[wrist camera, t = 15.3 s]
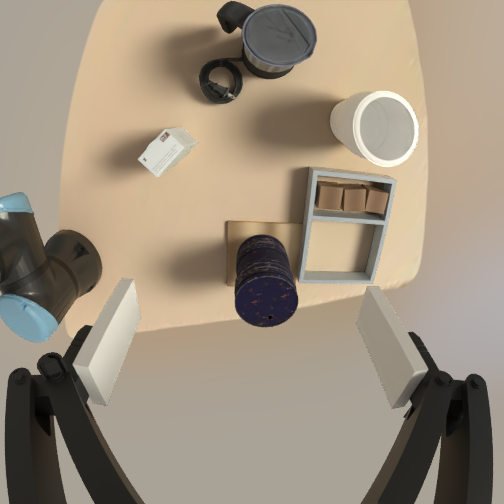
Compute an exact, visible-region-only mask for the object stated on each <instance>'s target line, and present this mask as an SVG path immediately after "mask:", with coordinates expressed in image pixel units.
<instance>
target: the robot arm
mask: <svg viewBox="0 0 504 504" xmlns="http://www.w3.org/2000/svg"><path fill="white" fill-rule="evenodd" d="M101 274H102V263H101V259H100V256H99V254H98V252H97V250H96V248H95V247H94V245H93V244H92V243H91V242H90V241H89V240H88V239H87V238H86V237H85V236H83V235H82V234H80V233H78V232H75V231H72V230H62V231H59V232H57V233H56V234H54V235H53V236H52V237H51V238H50V239H49V240H48V242H47V243H46V245H45V247H44V245H43V242H42V239H41V236H40V233H39V230H38V227H37V224H36V221H35V218H34V212H33V211H32V209H31V206H30V203H29V200H28V197H27V196H26V195H25V194H24V193H21V192H19V193H14V194H11V195H8V196H5V197H2V198H0V291H1V293H2V295H1V296H0V316H1V318H2V319H3V321H4V322H5V323H6V325H7V326H8V327H9V328H10V329H11V330H12V331H13V332H14V333H16V334H17V335H19V336H20V337H22V338H24V339H26V340H28V341H31V342H36V343H40V342H44V341H46V340H48V339H49V337H50V336H51V335H52V334H53V332H54V331H56V330H57V328H58V325H59V324H60V322H61V321H62V319H63V318H64V316H65V315H66V313H67V312H68V310H69V309H70V307H71V306H72V304H73V303H74V302H75V300H76V299H77V298H79V297H81V296H83V295H84V294H86V293H88V292H90V291H91V290H92V289H93V288H94V287H95V286H96V284H97V283H98V282H99V280H100V278H101ZM140 319H141V315H140V310H139V305H138V300H137V294H136V289H135V283H134V279H123V278H121V280H120V282H119V283H118V285H117V286H116V288H115V290H114V291H113V293H112V295H111V296H110V298H109V300H108V301H107V303H106V305H105V306H104V308H103V310H102V311H101V313H100V315H99V317H98V318H97V320H96V322H95V324H94V325H93V326H89V325H85V326H84V327H82V328H81V329H80V330H79V331H78V332H77V334H76V336H75V337H74V340H73V341H72V343H71V346H69V348H68V350H67V352H66V353H65V355H64V357H63V358H62V356H61V355H59V354H58V353H54V352H51V353H47V354H45V355H43V356H42V357H41V358H40V359H39V361H38V363H37V369H38V370H39V372H40V374H41V375H31V373H30V372H29V370H28V369H26V368H18V369H15V370H14V371H13V372H12V373H11V374H10V376H9V379H8V388H7V399H6V414H5V462H6V463H5V464H6V478H7V488H8V496H9V504H67V503H66V499H65V494H64V489H63V484H62V479H61V474H60V468H59V462H58V455H57V447H56V439H55V428H54V416H56V419H57V422H58V425H59V427H60V430H61V433H62V435H63V438H64V440H65V443H66V445H67V448H68V450H69V453H70V455H71V457H72V459H73V462H74V464H75V465H76V468H77V470H78V472H79V474H80V477H81V478H82V481H83V483H84V485H85V486H86V488H87V490H88V492H89V494H90V496H91V498H92V500H93V501H94V503H95V504H145V503H144V502H143V501H142V499H141V498H140V496H139V495H138V493H137V492H136V490H135V489H134V487H133V486H132V485H131V483H130V481H129V480H128V478H127V477H126V475H125V473H124V472H123V470H122V468H121V467H120V465H119V463H118V462H117V460H116V459H115V457H114V455H113V453H112V452H111V450H110V448H109V446H108V444H107V442H106V440H105V439H104V437H103V435H102V433H101V431H100V429H99V427H98V425H97V423H96V421H95V419H94V417H93V415H92V412H91V410H90V408H89V406H88V404H87V400H88V398H89V397H90V399H91V400H92V402H93V403H95V404H100V405H104V406H108V403H109V400H110V397H111V394H112V392H113V389H114V386H115V383H116V380H117V378H118V375H119V372H120V370H121V367H122V364H123V361H124V359H125V357H126V354H127V351H128V349H129V346H130V344H131V341H132V339H133V336H134V334H135V331H136V329H137V327H138V324H139V322H140ZM356 325H357V327H358V329H359V331H360V333H361V336H362V338H363V340H364V343H365V345H366V347H367V349H368V352H369V354H370V357H371V359H372V362H373V364H374V366H375V369H376V371H377V374H378V376H379V378H380V381H381V383H382V386H383V388H384V391H385V393H386V396H387V399H388V401H389V404H390V406H391V409H393V408H399V407H404V406H405V405H406V403H407V402H408V400H409V399H410V401H411V403H412V406H411V407H410V408H409V410H408V411H407V413H406V414H405V415H404V418H405V417H406V418H405V421H404V423H403V425H402V427H401V430H400V432H399V434H398V436H397V438H396V441H395V443H394V445H393V447H392V449H391V451H390V453H389V455H388V457H387V459H386V461H385V463H384V464H383V466H382V468H381V470H380V472H379V474H378V475H377V477H376V479H375V481H374V483H373V484H372V486H371V488H370V489H369V491H368V493H367V494H366V496H365V498H364V499H363V501H362V502H361V504H414V502H415V501H416V498H417V496H418V494H419V492H420V490H421V487H422V485H423V483H424V480H425V478H426V475H427V473H428V470H429V468H430V465H431V463H432V460H433V457H434V454H435V451H436V449H437V446H438V443H439V439H440V436H441V449H440V462H439V471H438V479H437V486H436V493H435V499H434V504H491V502H492V487H493V444H492V428H491V417H490V407H489V400H488V392H487V387H486V382H485V381H484V379H483V378H482V377H481V376H479V375H477V374H470V375H469V376H468V377H467V378H466V380H465V381H461V380H453V378H452V377H451V376H450V375H449V374H448V373H446V372H444V371H439V369H438V368H437V366H436V364H435V362H434V360H433V359H432V357H431V355H430V354H429V352H428V350H427V349H426V347H425V346H424V344H423V342H422V340H421V339H420V337H418V336H417V335H416V334H415V333H414V332H407V331H406V329H405V328H404V326H403V324H402V323H401V321H400V319H399V318H398V316H397V314H396V313H395V311H394V310H393V308H392V306H391V305H390V303H389V302H388V300H387V299H386V297H385V295H384V294H383V292H382V291H381V289H380V288H379V286H367V288H366V292H365V295H364V299H363V302H362V306H361V309H360V312H359V315H358V318H357V321H356Z"/></svg>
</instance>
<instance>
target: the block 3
mask: <svg viewBox="0 0 504 504" xmlns="http://www.w3.org/2000/svg"><path fill="white" fill-rule="evenodd" d="M362 187H364V188H365V189H366V198H365V211H368V212H374V213H380V214H384V210H385V207H386V203H387V199H388V195H389V194H388V193H387V192H385V191H384V190H383V189H381V188H378V187H373V186H368V185H363V184H362Z"/></svg>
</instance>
